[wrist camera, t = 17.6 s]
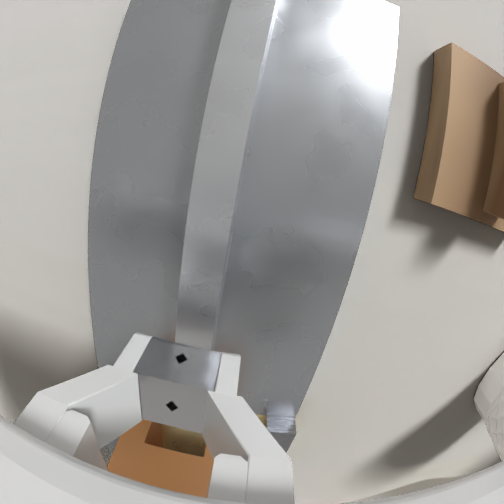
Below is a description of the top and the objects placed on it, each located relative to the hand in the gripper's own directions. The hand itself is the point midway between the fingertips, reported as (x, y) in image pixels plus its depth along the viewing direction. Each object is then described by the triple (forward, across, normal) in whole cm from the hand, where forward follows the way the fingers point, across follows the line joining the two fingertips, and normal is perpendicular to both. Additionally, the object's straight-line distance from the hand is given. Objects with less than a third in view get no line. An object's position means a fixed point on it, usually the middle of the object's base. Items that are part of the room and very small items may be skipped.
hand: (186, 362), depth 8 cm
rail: (+5, 0, +1) cm, 5 cm away
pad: (+5, -11, -9) cm, 15 cm away
